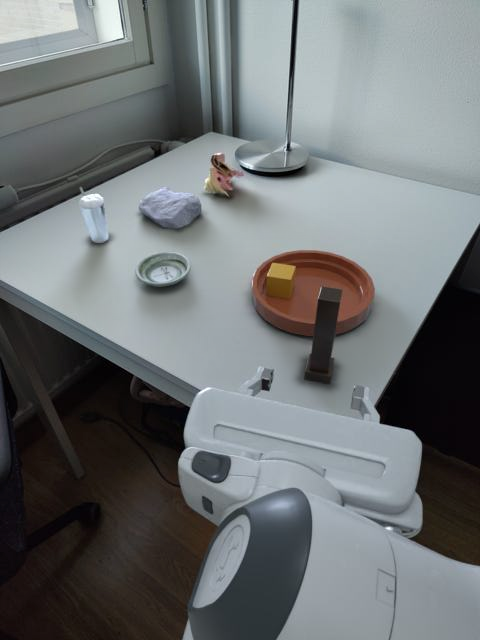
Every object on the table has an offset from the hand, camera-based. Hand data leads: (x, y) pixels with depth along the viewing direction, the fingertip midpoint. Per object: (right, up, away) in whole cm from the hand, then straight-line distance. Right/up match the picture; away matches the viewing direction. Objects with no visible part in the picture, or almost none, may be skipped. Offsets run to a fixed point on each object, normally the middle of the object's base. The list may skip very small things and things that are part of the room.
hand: (312, 380), depth 46 cm
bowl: (+5, +10, +31) cm, 33 cm away
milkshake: (-35, +22, +47) cm, 63 cm away
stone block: (-23, +28, +53) cm, 64 cm away
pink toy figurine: (-11, +36, +62) cm, 73 cm away
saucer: (-21, +13, +36) cm, 44 cm away
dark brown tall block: (+4, -1, +19) cm, 19 cm away
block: (0, +11, +32) cm, 34 cm away
